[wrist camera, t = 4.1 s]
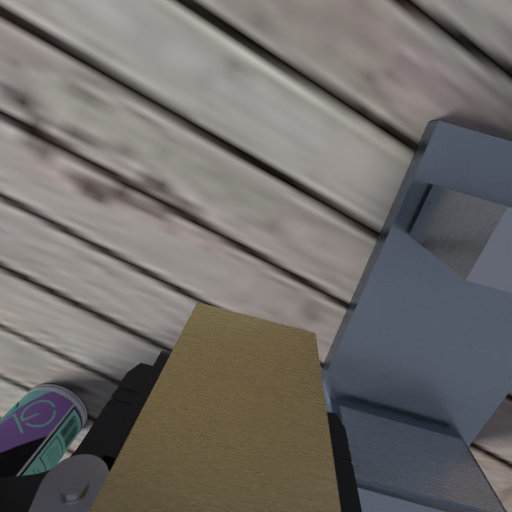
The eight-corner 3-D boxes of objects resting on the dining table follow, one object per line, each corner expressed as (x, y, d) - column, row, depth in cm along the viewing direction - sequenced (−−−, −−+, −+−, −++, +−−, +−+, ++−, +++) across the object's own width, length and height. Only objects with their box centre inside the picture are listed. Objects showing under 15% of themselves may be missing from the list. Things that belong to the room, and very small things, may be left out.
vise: (428, 121, 17) (522, 109, 10) (637, 181, 17) (864, 209, 10) (303, 411, 25) (309, 512, 18) (446, 451, 25) (506, 565, 18)
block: (197, 302, 10) (43, 598, 4) (315, 332, 10) (364, 678, 4) (175, 410, 12) (50, 728, 6) (275, 435, 12) (263, 782, 6)
